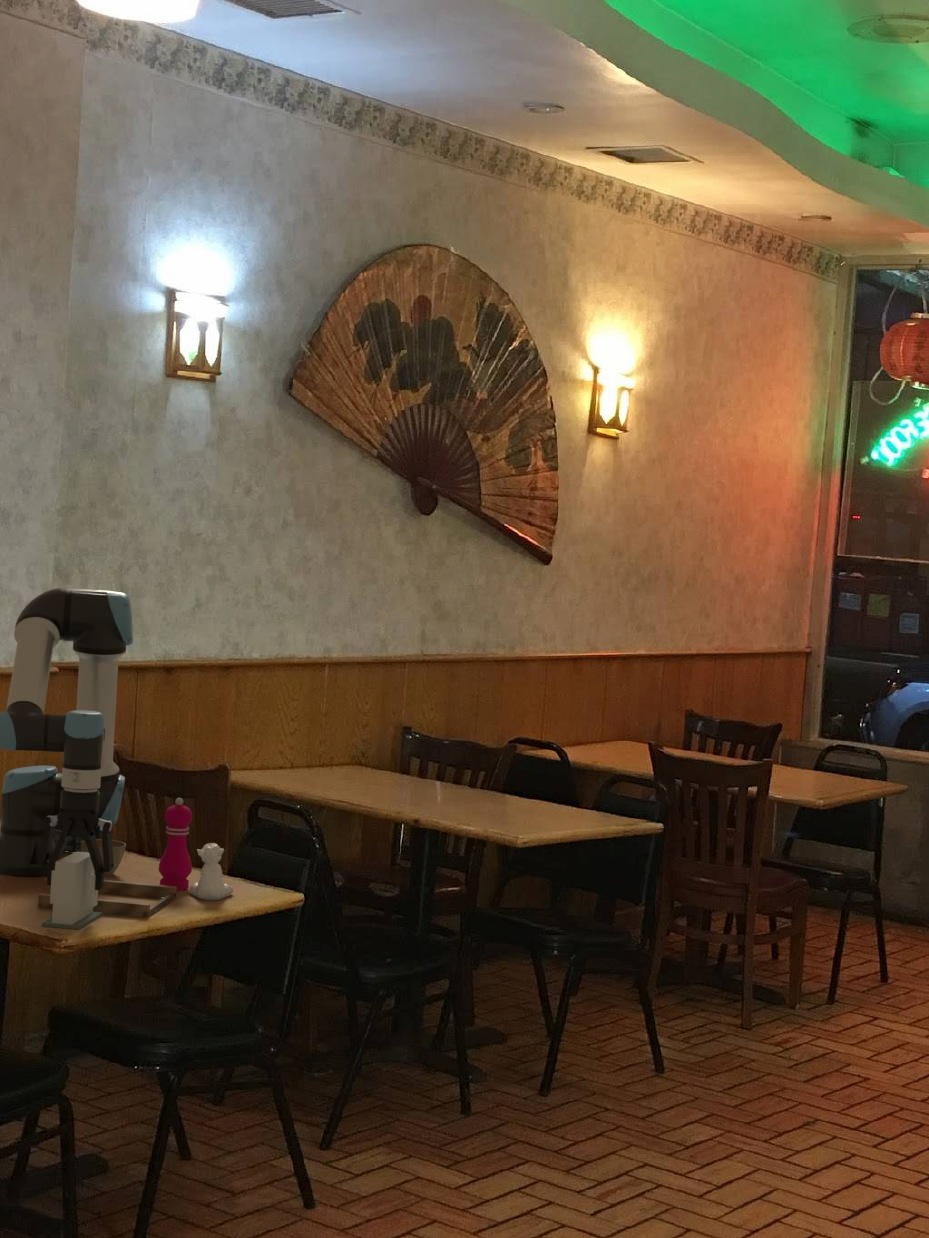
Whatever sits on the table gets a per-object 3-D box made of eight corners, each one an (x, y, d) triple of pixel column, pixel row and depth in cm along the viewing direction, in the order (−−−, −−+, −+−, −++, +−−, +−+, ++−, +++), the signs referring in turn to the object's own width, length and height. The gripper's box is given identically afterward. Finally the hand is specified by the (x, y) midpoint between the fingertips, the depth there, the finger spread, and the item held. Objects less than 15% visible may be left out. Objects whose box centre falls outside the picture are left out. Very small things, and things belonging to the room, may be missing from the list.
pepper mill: (183, 892, 361) (189, 801, 360) (152, 889, 362) (157, 798, 362) (195, 886, 368) (200, 797, 367) (164, 883, 369) (170, 794, 369)
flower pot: (85, 879, 368) (87, 847, 367) (74, 870, 376) (76, 839, 376) (129, 878, 372) (131, 846, 372) (117, 869, 381) (119, 838, 381)
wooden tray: (38, 906, 338) (38, 894, 338) (72, 888, 358) (73, 876, 357) (147, 917, 335) (147, 905, 335) (176, 898, 355) (176, 886, 355)
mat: (41, 925, 322) (41, 922, 322) (66, 911, 335) (66, 908, 335) (78, 929, 321) (79, 926, 321) (102, 915, 334) (102, 912, 334)
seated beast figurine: (233, 894, 363) (236, 840, 362) (232, 902, 354) (235, 847, 354) (189, 892, 362) (192, 837, 361) (187, 900, 353) (191, 845, 353)
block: (51, 922, 322) (55, 861, 322) (73, 910, 334) (77, 851, 334) (71, 924, 322) (75, 863, 321) (92, 912, 334) (96, 853, 333)
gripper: (24, 787, 325) (17, 903, 325) (123, 796, 322) (116, 912, 323) (38, 782, 332) (31, 895, 333) (136, 791, 330) (129, 904, 330)
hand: (73, 903), depth 328 cm, fingers open, 7 cm apart
